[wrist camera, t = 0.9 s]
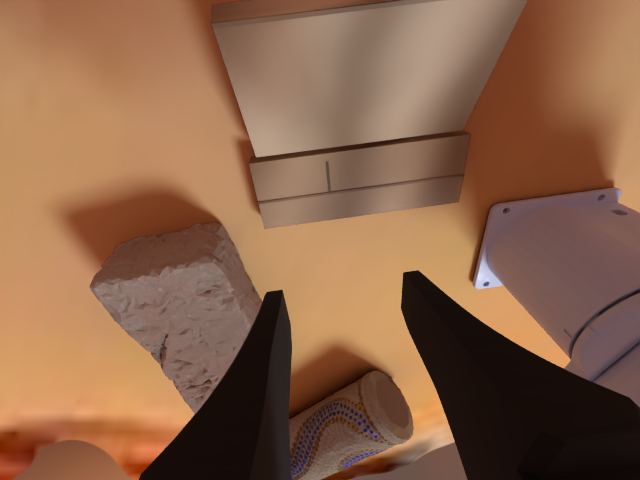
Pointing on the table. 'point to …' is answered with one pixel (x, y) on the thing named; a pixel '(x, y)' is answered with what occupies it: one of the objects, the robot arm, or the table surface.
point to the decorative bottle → (349, 427)
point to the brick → (182, 303)
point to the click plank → (358, 67)
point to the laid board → (360, 178)
